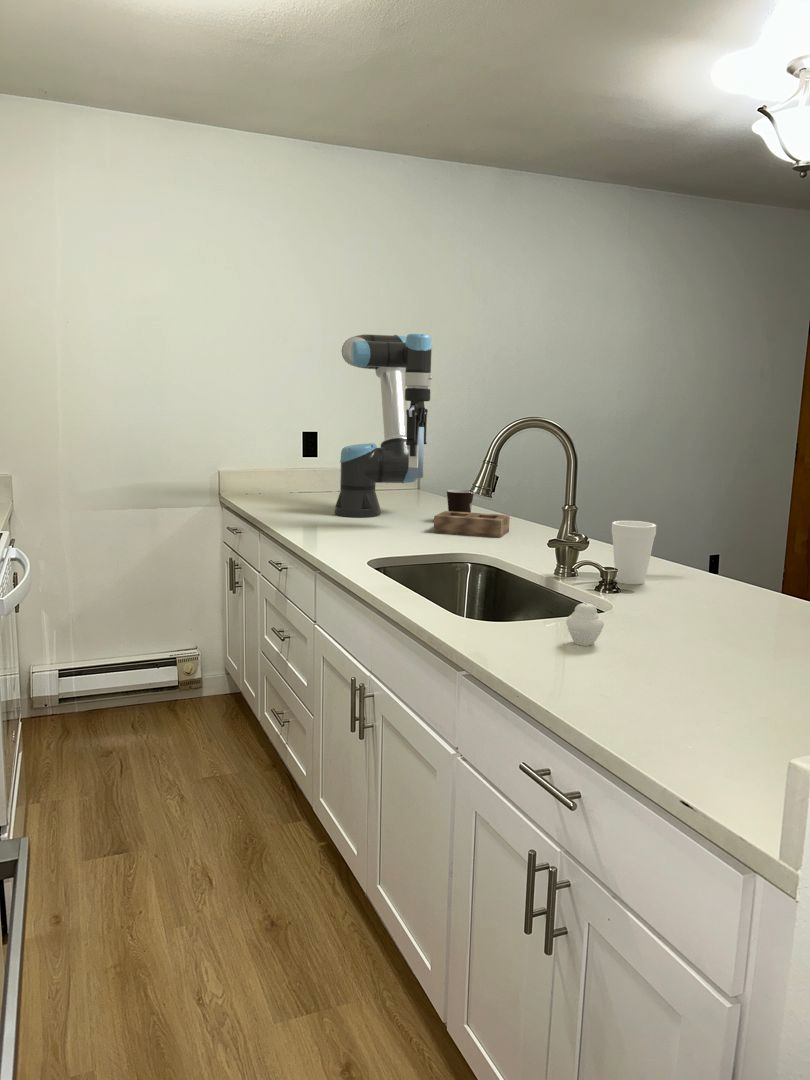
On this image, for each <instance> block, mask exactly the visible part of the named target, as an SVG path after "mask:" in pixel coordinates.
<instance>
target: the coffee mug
mask: <svg viewBox="0 0 810 1080" xmlns="http://www.w3.org/2000/svg"><path fill="white" fill-rule="evenodd" d="M469 490H470V489H448V490H446V497H447V500H446V501H447V511H455V512H470V513H472V506H473V501H474V500H473V499H474V494H471V493H469Z"/></svg>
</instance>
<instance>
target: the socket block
mask: <svg viewBox="0 0 810 1080" xmlns="http://www.w3.org/2000/svg"><path fill="white" fill-rule="evenodd" d="M510 517H511V516H510V514H497V513H481V512H471V513H470V512H455V511H448V510H445V511H442V512H440V513H437V514H435V515H434V516H433V533H434V534H445V535H446V534H447V535H456V534H457V536H458V535H459V536H470V535H472V537H487V538H498V539H501V538H503V537H504V536H505V535H506V534H507V533H509V532H510Z"/></svg>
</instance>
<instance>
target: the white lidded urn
mask: <svg viewBox="0 0 810 1080" xmlns="http://www.w3.org/2000/svg"><path fill="white" fill-rule="evenodd" d="M565 624H566V626H567V630H568V632H569V635H570V637H571V639H572V641H573V643H574V644H575V645H578V646H583V647H584V646H585V647H589V646H590V647H591V646H593V645H594V644H595V642H596V641H597V640H598V638H599V636H600V635H601V633H602V631H603V628H604V625H605V622H604V619H602V617H601V616H600V615H599V613H598V610H597V607H596V606H595V605H593V604H592V603H587V602H583V603H579V604H577V605H576V606H575V608H574V611H573V612H572V613H571V614H570V615H568V617H567V618H566V620H565Z"/></svg>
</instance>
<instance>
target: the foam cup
mask: <svg viewBox="0 0 810 1080" xmlns="http://www.w3.org/2000/svg"><path fill="white" fill-rule="evenodd" d="M611 534H612V548H613V561H614V562H613V563H614V565H613V566H614V569H615V568H617V569H618V575H617V581H616V582H617V583H620V584H626V585H642V584H645V582H646V579H647V576H648V575H647V574H648V570H649V563H650V560H651V559H650V558H651V556H652V550H653V545H654V541H655V537H656V536H657V524H655V523H652V522H648V521H639V520H617V521H616V520H614V521H612V524H611Z"/></svg>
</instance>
